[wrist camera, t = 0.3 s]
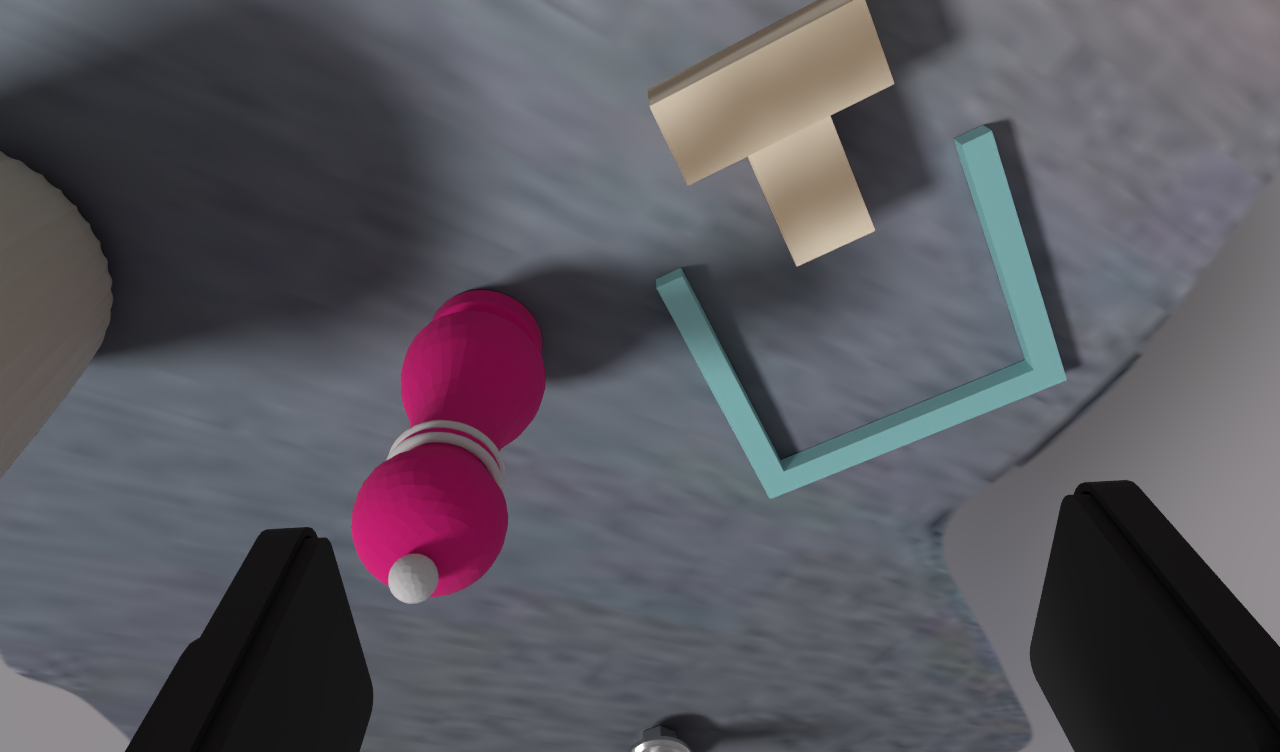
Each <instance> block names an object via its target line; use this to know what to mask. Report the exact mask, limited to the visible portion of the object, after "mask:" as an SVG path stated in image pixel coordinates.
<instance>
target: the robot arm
mask: <svg viewBox="0 0 1280 752" xmlns="http://www.w3.org/2000/svg"><path fill="white" fill-rule="evenodd" d="M1030 661H1031V666H1032V669H1033V673H1034V675H1035V678H1036V680H1037V682H1038V683H1039V686H1040V687H1041V689H1042V691H1043V693H1044V695H1045V697H1046V699H1047V700H1048V702H1049V704H1050V706H1051V708H1052V710H1053V712H1054V714H1055V716H1056V718H1057V719H1058V721H1059V723H1060V725H1061V727H1062V729H1063V731H1064V732H1065V734H1066V736H1067V738H1068V740H1069V742H1070V744H1071V746H1072V748H1073V749H1074V751H1075V752H1280V647H1279V646H1278V644H1277V643H1276V642H1275V641H1274V640H1273V639H1272V638H1271V636H1270V635H1269V634H1268V633H1267V632H1266V631H1265V630H1264V628H1263V627H1262V626H1261V625H1260V624H1259V623H1258V622H1257V621H1256V619H1255V618H1254V617H1253V616H1252V615H1251V614H1250V613H1249V612H1248V610H1247V609H1246V608H1245V607H1244V606H1243V605H1242V604H1241V602H1240V601H1238V599H1237V598H1236V597H1235V596H1234V594H1233V593H1232V592H1231V591H1230V590H1229V589H1228V588H1227V587H1226V585H1225V584H1224V583H1223V582H1222V581H1221V580H1220V579H1219V578H1218V576H1217V575H1216V574H1215V573H1214V572H1213V571H1212V569H1210V567H1209V566H1208V565H1207V564H1206V563H1205V562H1204V560H1203V559H1202V558H1201V557H1200V556H1199V555H1198V554H1197V553H1196V551H1195V550H1194V549H1193V548H1192V547H1191V546H1190V545H1189V543H1188V542H1187V541H1186V540H1185V539H1184V538H1183V537H1182V535H1181V534H1180V533H1179V532H1178V531H1177V530H1176V529H1175V528H1174V526H1173V525H1172V524H1171V523H1170V522H1169V521H1168V520H1167V518H1166V517H1165V516H1164V515H1163V514H1162V513H1161V512H1160V511H1159V510H1158V508H1157V507H1156V506H1155V505H1154V504H1153V503H1152V501H1151V500H1150V499H1149V498H1148V497H1147V496H1146V495H1145V494H1144V492H1143V491H1142V490H1141V489H1140V488H1139V487H1138V486H1137V485H1136V484H1135V483H1134V482H1132V481H1128V480H1119V481H1102V482H1084V483H1082V484H1080V485H1078V487H1077V488H1076V490H1075V492H1074V495H1067V496H1065V497H1064V499H1063V501H1062V503H1061V507H1060V512H1059V516H1058V521H1057V525H1056V530H1055V535H1054V540H1053V544H1052V549H1051V553H1050V558H1049V562H1048V567H1047V572H1046V577H1045V581H1044V585H1043V590H1042V595H1041V599H1040V604H1039V609H1038V613H1037V618H1036V622H1035V627H1034V632H1033V636H1032V641H1031V646H1030ZM372 706H373V687H372V682H371V678H370V675H369V672H368V668H367V665H366V661H365V658H364V654H363V651H362V648H361V644H360V641H359V637H358V634H357V630H356V627H355V624H354V620H353V617H352V613H351V610H350V606H349V603H348V600H347V596H346V593H345V589H344V586H343V582H342V579H341V576H340V572H339V569H338V565H337V562H336V558H335V555H334V552H333V548H332V545H331V543H330V541H329V540H328V539H327V538H318V537H317V535H316V532H315V531H314V530H313V529H312V528H309V527H301V528H284V529H267V530H265V531H262V532H261V534H260V535H259V536H258V538H257V539H256V541H255V543H254V544H253V546H252V548H251V550H250V551H249V553H248V555H247V557H246V558H245V560H244V562H243V564H242V565H241V567H240V569H239V571H238V572H237V574H236V576H235V578H234V579H233V581H232V583H231V584H230V586H229V588H228V590H227V591H226V593H225V595H224V597H223V598H222V600H221V602H220V604H219V605H218V607H217V609H216V611H215V612H214V614H213V616H212V618H211V619H210V621H209V623H208V625H207V626H206V628H205V630H204V631H203V633H202V635H201V637H200V638H198V639H197V640H195V641H193V642H192V643H190V644H189V646H188V647H187V648H186V650H185V651H184V652H183V653H182V655H181V657H180V658H179V660H178V662H177V664H176V665H175V667H174V669H173V670H172V672H171V674H170V675H169V677H168V679H167V681H166V682H165V684H164V686H163V687H162V689H161V691H160V693H159V694H158V696H157V698H156V699H155V701H154V703H153V704H152V706H151V708H150V710H149V711H148V713H147V715H146V716H145V718H144V720H143V722H142V723H141V725H140V727H139V728H138V730H137V732H136V733H135V735H134V737H133V739H132V740H131V742H130V744H129V746H128V747H127V749H126V751H125V752H359V751H360V748H361V745H362V742H363V738H364V735H365V732H366V729H367V726H368V722H369V719H370V716H371V712H372Z"/></svg>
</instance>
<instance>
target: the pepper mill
mask: <svg viewBox="0 0 1280 752" xmlns="http://www.w3.org/2000/svg"><path fill="white" fill-rule="evenodd" d="M541 353H542V336H541V332H540V328H539V326H538V324H537V322H536V320H535V318H534V317H533V315H532V314H531V313H530V312H529V311H528V310H527V309H526V308H525V307H524V306H523V305H522V304H521V303H519V302H518V301H517V300H515V299H513V298H512V297H509V296H507V295H505V294H502V293H499V292H495V291H489V290H473V291H468V292H464V293H461V294H459V295H456V296H454V297H452V298H451V299H449V300H448V301H446V302H445V303H444V304H443V305H442V306H441V307H440V308H439V309H438V311H437V312H436V314H435V315H434V317H433V319H432V321H431V323H429V324H428V325H427V326H426V327H425V328H424V329H422V330H421V331H420V332H419V333H418V334H417V336H416V337H415V338H414V340H413V341H412V343H411V344H410V346H409V348H408V351H407V353H406V356H405V360H404V363H403V367H402V372H401V394H402V401H403V405H404V408H405V411H406V413H407V416H408V418H409V421H410V429H408V430H406V431H405V432H404V433H403V434H401V435H400V436H399V437H398V438H397V440H396V441H395V442H394V444H393V445H392V447H391V449H390V452H389V456H388V457H387V459H386V461H385V462H383V463H382V464H380V465H379V466H378V467H376V468H375V469H374V471H373V472H372V473H371V474H370V475H369V477H368V478H367V479H366V480H365V481H364V483H363V485H362V487H361V489H360V491H359V492H358V495H357V498H356V501H355V504H354V508H353V513H352V526H351V528H352V536H353V542H354V545H355V548H356V551H357V553H358V555H359V558H360V560H361V561H362V562H363V564H364V565H365V567H366V568H367V569H368V571H369V572H370V573H371V574H373V575H374V576H375V577H376V578H377V579H378V580H379V581H381V582H383V583H384V584H386V585H387V586H389V588H390V590H391V592H392V593H393V595H394V596H395V597H396V598H397V599H399V600H400V601H402V602H405V603H419V602H422V601H424V600H426V599H427V598H429V597H438V596H443V595H449V594H452V593H454V592H457V591H459V590H462V589H464V588H466V587H468V586H470V585H471V584H473V583H474V582H475V581H477V580H478V579H480V578H481V577H482V576H483V575H484V574H485V573H486V572H487V571H488V569H489V568H490V567H491V566H492V564H493V563H494V561H495V560H496V558H497V556H498V555H499V553H500V551H501V549H502V546H503V543H504V540H505V536H506V531H507V527H508V512H507V506H506V501H505V498H504V494H503V492H502V487H503V484H504V480H505V465H504V461H503V458H502V456H501V454H500V449H501V448H503V447H504V446H506V445H507V444H509V443H510V442H512V441H513V440H514V439H516V438H517V437H518V436H519V435H520V434H521V433H522V432H523V431H524V430H525V429H526V427H527V426H528V425H529V424H530V422H531V421H532V420H533V419H534V417H535V415H536V413H537V412H538V410H539V407H540V404H541V401H542V398H543V394H544V390H545V379H546V375H545V368H544V364H543V359H542V357H541Z"/></svg>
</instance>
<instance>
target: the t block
mask: <svg viewBox="0 0 1280 752" xmlns="http://www.w3.org/2000/svg"><path fill="white" fill-rule="evenodd" d="M893 84H894V81H893V78H892V75H891V72H890V69H889V66H888V64H887V61H886V58H885V55H884V52H883V49H882V46H881V44H880V41H879V38H878V35H877V32H876V29H875V26H874V24H873V21H872V18H871V15H870V12H869V9H868V6H867V4H866V1H865V0H818V1H816V2H814V3H812V4H810V5H808V6H806V7H804V8H802V9H800V10H798V11H797V12H795V13H793V14H791V15H789V16H787V17H785V18H783V19H781V20H779V21H777V22H776V23H774V24H772V25H770V26H768V27H766V28H764V29H762V30H760V31H758V32H756V33H755V34H753V35H751V36H749V37H747V38H745V39H743V40H741V41H739V42H737V43H735V44H734V45H732V46H730V47H728V48H726V49H724V50H722V51H720V52H718V53H716V54H714V55H713V56H711V57H709V58H707V59H705V60H703V61H701V62H699V63H697V64H695V65H693V66H691V67H690V68H688V69H686V70H684V71H682V72H680V73H678V74H676V75H674V76H672V77H670V78H669V79H667V80H665V81H663V82H661V83H659V84H657V85H655V86H653V87H651V88H649V89H648V98H649V107H650V109H651V111H652V113H653V115H654V117H655V119H656V121H657V123H658V125H659V127H660V129H661V131H662V133H663V136H664V138H665V140H666V142H667V144H668V146H669V148H670V150H671V152H672V154H673V156H674V158H675V160H676V162H677V164H678V166H679V168H680V170H681V172H682V175H683V177H684V179H685V181H686V183H687V185H688V186H689V185H691V184H693V183H695V182H697V181H699V180H701V179H703V178H705V177H707V176H709V175H711V174H713V173H715V172H717V171H719V170H721V169H723V168H725V167H727V166H729V165H731V164H733V163H735V162H737V161H739V160H741V159H743V158H745V157H748V159H749V161H750V164H751V166H752V168H753V170H754V173H755V175H756V177H757V179H758V182H759V184H760V186H761V188H762V191H763V193H764V195H765V197H766V200H767V202H768V204H769V206H770V209H771V211H772V213H773V215H774V218H775V220H776V222H777V224H778V227H779V229H780V231H781V233H782V236H783V238H784V240H785V242H786V244H787V246H788V249H789V251H790V253H791V255H792V257H793V259H794V262H795V264H796V266H800V265H802V264H804V263H806V262H808V261H811V260H813V259H815V258H817V257H819V256H821V255H824V254H826V253H828V252H830V251H832V250H835V249H837V248H839V247H841V246H843V245H845V244H848V243H850V242H852V241H854V240H856V239H859V238H861V237H863V236H865V235H867V234H869V233H872V232H874V231H875V229H874V226H873V224H872V221H871V219H870V216H869V213H868V211H867V208H866V206H865V203H864V201H863V198H862V196H861V193H860V190H859V188H858V185H857V183H856V180H855V178H854V175H853V172H852V170H851V167H850V165H849V162H848V160H847V157H846V155H845V152H844V149H843V147H842V144H841V142H840V139H839V137H838V134H837V132H836V129H835V126H834V124H833V121H832V119H831V115H833V114H835V113H837V112H839V111H841V110H843V109H845V108H847V107H849V106H851V105H853V104H855V103H857V102H859V101H861V100H863V99H865V98H867V97H869V96H871V95H873V94H875V93H877V92H879V91H881V90H883V89H885V88H887V87H889V86H891V85H893Z"/></svg>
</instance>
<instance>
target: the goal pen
mask: <svg viewBox="0 0 1280 752" xmlns="http://www.w3.org/2000/svg"><path fill="white" fill-rule="evenodd" d="M954 142H955V145H956V148H957V151H958V154H959V157H960V160H961V163H962V167H963V170H964V173H965V176H966V179H967V182H968V185H969V188H970V191H971V194H972V197H973V200H974V204H975V207H976V210H977V213H978V216H979V219H980V222H981V225H982V228H983V231H984V234H985V237H986V241H987V244H988V247H989V250H990V253H991V256H992V259H993V262H994V265H995V268H996V271H997V274H998V278H999V281H1000V284H1001V287H1002V290H1003V293H1004V296H1005V299H1006V302H1007V305H1008V308H1009V311H1010V315H1011V318H1012V321H1013V324H1014V327H1015V330H1016V333H1017V336H1018V339H1019V342H1020V345H1021V348H1022V351H1023V355H1024V358H1025V360H1023V361H1021V362H1019V363H1016V364H1014V365H1011V366H1009V367H1006V368H1004V369H1001V370H999V371H997V372H994V373H992V374H989V375H987V376H984V377H982V378H980V379H977V380H975V381H972V382H970V383H967V384H965V385H962V386H960V387H958V388H955V389H953V390H950V391H948V392H945V393H943V394H941V395H938V396H936V397H933V398H931V399H928V400H926V401H923V402H921V403H919V404H916V405H914V406H911V407H909V408H906V409H904V410H902V411H899V412H897V413H894V414H892V415H889V416H887V417H884V418H882V419H880V420H877V421H875V422H872V423H870V424H867V425H865V426H863V427H860V428H858V429H855V430H853V431H850V432H848V433H845V434H843V435H841V436H838V437H836V438H833V439H831V440H828V441H826V442H824V443H821V444H819V445H816V446H814V447H811V448H809V449H806V450H804V451H802V452H799V453H797V454H794V455H792V456H789V457H787V458H785V459H782V460H780V458H779V456H778V454H777V452H776V450H775V448H774V446H773V444H772V443H771V441H770V439H769V437H768V435H767V433H766V431H765V429H764V427H763V425H762V423H761V421H760V419H759V417H758V415H757V413H756V412H755V410H754V408H753V406H752V404H751V402H750V400H749V398H748V396H747V394H746V392H745V390H744V388H743V386H742V384H741V382H740V381H739V379H738V377H737V375H736V373H735V371H734V369H733V367H732V365H731V363H730V361H729V359H728V357H727V355H726V353H725V352H724V350H723V348H722V346H721V344H720V342H719V340H718V338H717V336H716V334H715V332H714V330H713V328H712V326H711V324H710V322H709V321H708V319H707V317H706V315H705V313H704V311H703V309H702V307H701V305H700V303H699V301H698V299H697V297H696V295H695V293H694V291H693V290H692V288H691V286H690V284H689V282H688V280H687V278H686V276H685V274H684V272H683V270H682V268H679V269H677V270H674V271H672V272H670V273H668V274H666V275H664V276H662V277H660V278H657V279H656V288H657V290H658V292H659V294H660V296H661V297H662V299H663V301H664V303H665V305H666V307H667V309H668V310H669V312H670V314H671V316H672V318H673V320H674V322H675V323H676V325H677V327H678V329H679V331H680V333H681V335H682V336H683V338H684V340H685V342H686V344H687V346H688V348H689V349H690V351H691V353H692V355H693V357H694V359H695V361H696V362H697V364H698V366H699V368H700V370H701V372H702V374H703V375H704V377H705V379H706V381H707V383H708V385H709V387H710V388H711V390H712V392H713V394H714V396H715V398H716V400H717V401H718V403H719V405H720V407H721V409H722V411H723V413H724V414H725V416H726V418H727V420H728V422H729V424H730V426H731V427H732V429H733V431H734V433H735V435H736V437H737V439H738V440H739V442H740V444H741V446H742V448H743V450H744V452H745V453H746V455H747V457H748V459H749V461H750V463H751V465H752V467H753V468H754V470H755V472H756V474H757V476H758V478H759V480H760V481H761V483H762V485H763V487H764V489H765V491H766V493H767V494H768V496H769V498H770V499H772V498H774V497H777V496H779V495H782V494H784V493H787V492H789V491H792V490H794V489H797V488H799V487H802V486H804V485H807V484H809V483H812V482H814V481H817V480H819V479H822V478H824V477H827V476H829V475H832V474H834V473H837V472H839V471H842V470H844V469H847V468H849V467H852V466H854V465H857V464H859V463H862V462H864V461H867V460H869V459H872V458H874V457H877V456H879V455H881V454H884V453H886V452H889V451H891V450H894V449H896V448H899V447H901V446H904V445H906V444H909V443H911V442H914V441H916V440H919V439H921V438H924V437H926V436H929V435H931V434H934V433H936V432H939V431H941V430H944V429H946V428H949V427H951V426H954V425H956V424H959V423H961V422H964V421H966V420H969V419H971V418H974V417H976V416H979V415H981V414H984V413H986V412H989V411H991V410H994V409H996V408H999V407H1001V406H1004V405H1006V404H1009V403H1011V402H1014V401H1016V400H1019V399H1021V398H1024V397H1026V396H1029V395H1031V394H1034V393H1036V392H1038V391H1041V390H1043V389H1046V388H1048V387H1051V386H1053V385H1056V384H1058V383H1061V382H1063V381H1066V380H1067V378H1066V375H1065V372H1064V368H1063V365H1062V362H1061V358H1060V355H1059V352H1058V349H1057V345H1056V342H1055V339H1054V335H1053V332H1052V329H1051V325H1050V322H1049V319H1048V315H1047V312H1046V309H1045V305H1044V302H1043V299H1042V295H1041V292H1040V289H1039V285H1038V282H1037V279H1036V275H1035V272H1034V269H1033V266H1032V262H1031V259H1030V256H1029V252H1028V249H1027V246H1026V242H1025V239H1024V236H1023V232H1022V229H1021V226H1020V222H1019V219H1018V216H1017V212H1016V209H1015V206H1014V202H1013V199H1012V196H1011V193H1010V189H1009V186H1008V183H1007V179H1006V176H1005V173H1004V169H1003V166H1002V163H1001V159H1000V156H999V153H998V149H997V146H996V143H995V139H994V136H993V133H992V131H991V130H990V129H988V128H987V127H985V126H984V125H982V126H980V127H977V128H975V129H973V130H971V131H969V132H967V133H965V134H963V135H961V136H958V137H956V138H954Z"/></svg>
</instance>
